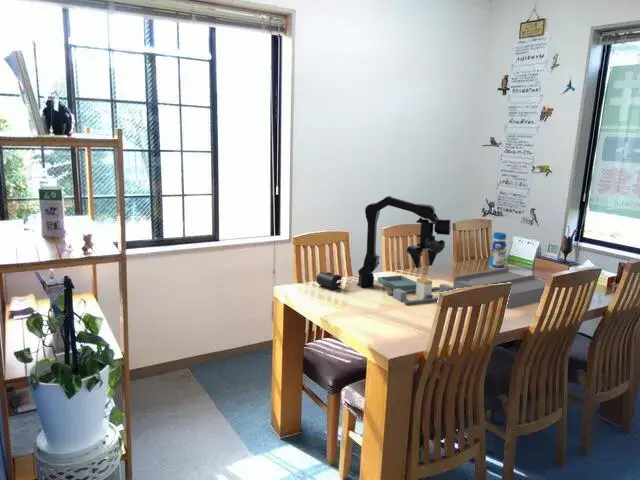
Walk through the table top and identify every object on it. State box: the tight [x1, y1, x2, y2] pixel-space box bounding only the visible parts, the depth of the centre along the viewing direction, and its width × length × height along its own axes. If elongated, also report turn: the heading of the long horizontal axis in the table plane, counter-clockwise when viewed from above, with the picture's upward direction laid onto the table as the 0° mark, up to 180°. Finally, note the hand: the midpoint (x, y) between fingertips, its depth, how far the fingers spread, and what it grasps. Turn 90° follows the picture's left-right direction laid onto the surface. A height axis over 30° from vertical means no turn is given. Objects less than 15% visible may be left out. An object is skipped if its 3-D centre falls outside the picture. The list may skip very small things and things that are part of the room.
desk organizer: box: [452, 267, 548, 310], centre depth 236 cm, size 32×40×7 cm
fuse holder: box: [386, 283, 454, 306], centre depth 225 cm, size 28×16×4 cm, turn 114°
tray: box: [377, 274, 417, 291], centre depth 242 cm, size 14×17×2 cm
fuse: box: [415, 277, 433, 299], centre depth 225 cm, size 4×6×8 cm, turn 24°
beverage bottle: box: [488, 232, 507, 270], centre depth 284 cm, size 8×8×20 cm
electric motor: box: [316, 271, 342, 291], centre depth 234 cm, size 10×7×7 cm
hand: (424, 266), depth 228 cm, fingers open, 9 cm apart
